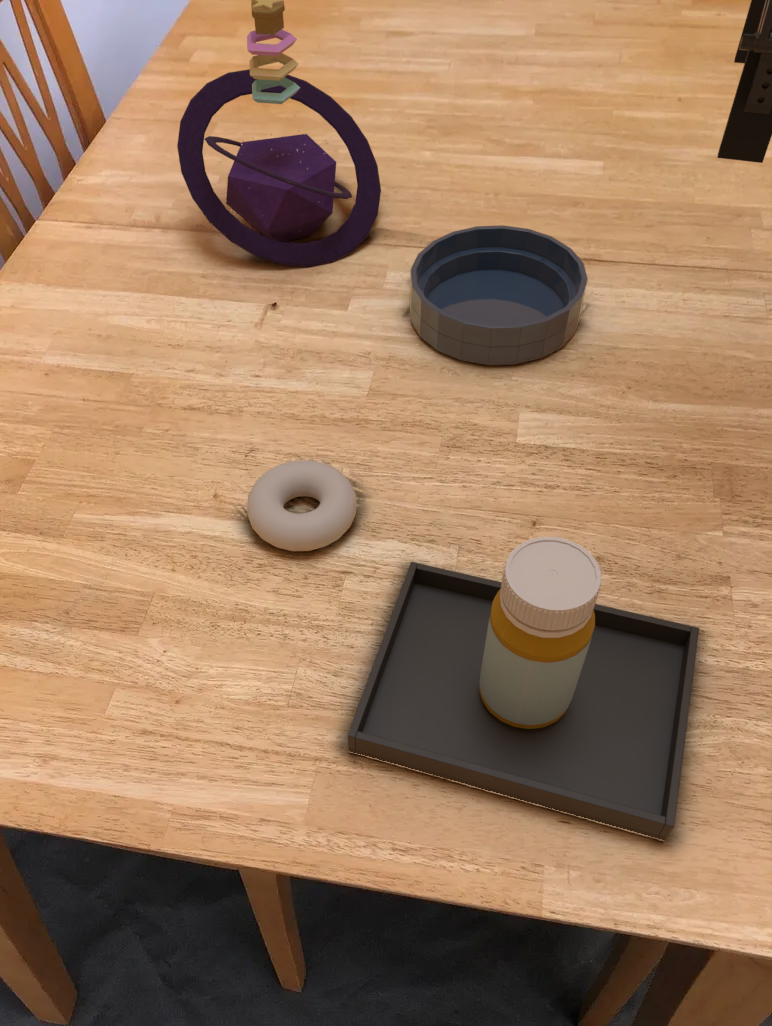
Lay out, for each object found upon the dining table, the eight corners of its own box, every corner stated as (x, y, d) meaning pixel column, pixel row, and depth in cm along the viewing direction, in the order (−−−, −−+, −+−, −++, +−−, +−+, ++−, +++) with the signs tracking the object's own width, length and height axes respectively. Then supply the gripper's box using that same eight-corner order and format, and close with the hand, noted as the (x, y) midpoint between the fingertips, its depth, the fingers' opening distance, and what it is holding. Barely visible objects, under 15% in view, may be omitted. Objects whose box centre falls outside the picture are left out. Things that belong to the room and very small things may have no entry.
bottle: (483, 649, 74) (502, 525, 62) (572, 662, 73) (610, 538, 61) (473, 725, 70) (492, 608, 58) (568, 739, 69) (607, 623, 57)
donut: (238, 554, 82) (348, 564, 81) (232, 528, 80) (346, 538, 78) (262, 474, 88) (365, 482, 87) (257, 448, 86) (364, 455, 84)
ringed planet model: (225, 299, 105) (189, 66, 85) (174, 209, 117) (132, -14, 97) (405, 250, 109) (410, 16, 89) (338, 167, 121) (330, -55, 101)
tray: (689, 647, 74) (699, 627, 72) (664, 843, 64) (674, 827, 62) (410, 581, 79) (411, 561, 77) (348, 753, 70) (347, 735, 68)
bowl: (591, 278, 104) (599, 238, 100) (561, 381, 94) (569, 340, 90) (434, 255, 108) (436, 215, 104) (389, 351, 98) (390, 311, 94)
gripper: (811, -383, 53) (706, 24, 70) (793, -280, 39) (668, 196, 56) (956, -386, 51) (813, 32, 68) (990, -278, 37) (800, 213, 54)
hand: (747, 107), depth 62 cm, fingers open, 13 cm apart
